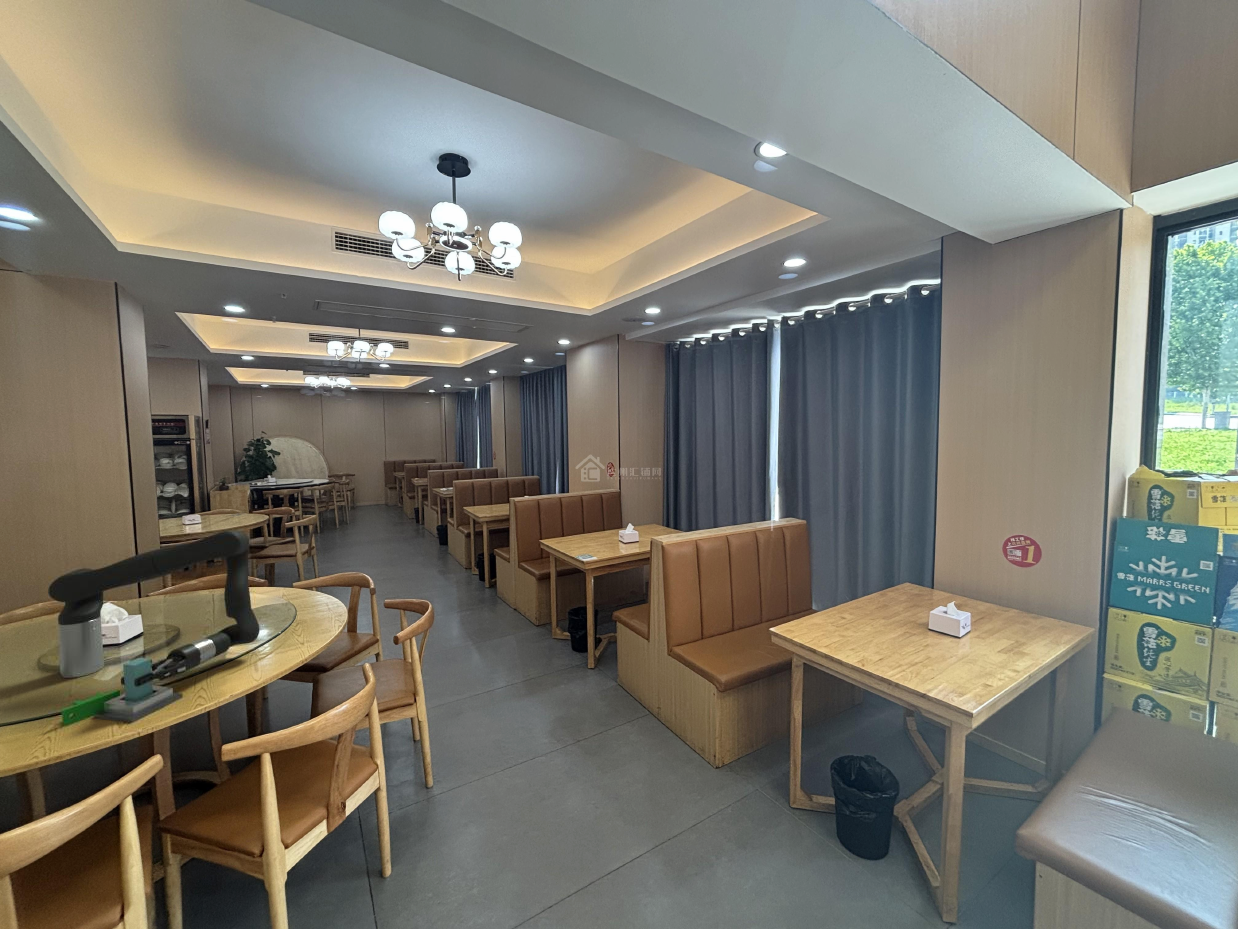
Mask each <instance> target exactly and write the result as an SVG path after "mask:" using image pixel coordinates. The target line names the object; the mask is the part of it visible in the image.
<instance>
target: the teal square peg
mask: <svg viewBox="0 0 1238 929" xmlns="http://www.w3.org/2000/svg"><path fill="white" fill-rule="evenodd" d="M151 660H152V658H145V657H138V658H135V659H133V660H130V661H128V662H126V663H123V677H124V685H123V686H124V694H125V701H132V702H137V701H139V700H141V699H143V698H145V697H147V696H149V695H151V694H153V688H152V685H153V681H152V680H151V681H150V682H148V683H145V684H143V685H141V686H139V687H136V686H135V685H134V680H135V679H137V678H139V677H141V676H143V675H146V674H148V673H151V672H152V668H151Z"/></svg>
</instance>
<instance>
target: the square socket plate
mask: <svg viewBox="0 0 1238 929" xmlns="http://www.w3.org/2000/svg"><path fill="white" fill-rule="evenodd" d="M152 688H153V694H151V695H149V696H147V697H145V698H143V699H141V700H139V701H137V702H132V701H125V693H122V694H120V696H118V697H116V698H113V699H111V700H109V701H107V702H104V709H103V710H101V711H99V712H97V713H94V714H93V716H92V718H94V719H101V720H109V721H116V722H123V723H130V724H133V723H135V722H137V721H139V720H140V719H142V718H145V717H146V716H148V715H150V714H153V713H154V712H156V711H159V710H160V709H163V708H164V707H166V706H168V705H170V704H172V703H174V702H176V701H178V700H180V699H182V698H183V696H184V695H183V693H178V692H177V693H176V692H174V691H173V690H174V689H173V687H168V686H167V687H166V686H161V685H159V686H158V685H154V684H152Z"/></svg>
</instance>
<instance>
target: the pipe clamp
mask: <svg viewBox="0 0 1238 929" xmlns="http://www.w3.org/2000/svg"><path fill="white" fill-rule="evenodd" d="M120 695H121V690H119V689H116V690H114V691H110V692H108V693H107V692H106V693H105V694H103V693H101V692H98V693H95V696H93V697H91V698H88V699H83V700H74V701H73V702H72V705H71V706H68V707H66V708H63V709H61V719H62V722H61V723H62V726H63V727H67V726H69V725H72V724H74V723H78V722H80V721H83V720H85V719H88V718H90V717H93V714H94V713H97V712H99V711H101V710H103V709H104V702H107V701H109V700H111V699H113V698H116V697H118V696H120ZM71 715H72V716H71Z"/></svg>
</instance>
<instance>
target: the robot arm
mask: <svg viewBox="0 0 1238 929" xmlns="http://www.w3.org/2000/svg"><path fill="white" fill-rule="evenodd" d="M249 554H250V538H249V536H248V535H247V533H246V532H244V531H241V530H235V529H234V530H233V529H230V530H222V531H220V532H217V533H214V534H212V535H209V536H206V537H203V538H201V539H197V540H195V541H190V542H187V543H182V544H175V545H171V546H166V547H162V548H158V549H157V548H156V549H154V550H150V551H146V552H143V553H139V554H136V555H133V556H130V557H128V558H125V559H122V560H120V561H118V562H115V563H111V564H109V565H107V566H104V567H100V568H96V569H92V568H87V567H84V568H79V569H76V570H72V571H70V572H67V573H65V574H62V575H61V576H58V577H56V579H55V580H53V581H52V583H51V584H50V585H49V587H48V591H47V592H48V595H49V597H50V598H51V599H52V600H54V601H56V602H60V603H64V606H63V608H62V610H61V611H60V612H59V614H58V617H57V621H58V622H57V625H58V633H59V634H58V637H59V645H58V661H59V673H60V675H61V677H62V678H63V679H64V678H66V679H72V678H78V677H83V676H87V675H90V674H93V673H96V672H98V671H100V670H101V669H103V668H104V666H105V665H104V648H103V630H102V616H101V615H102V613H101V612H102V608H103V606H104V592H105V591H109V590H112V589H115V588H120V587H125V586H129V585H134V584H135V585H136V584H138V583H142V582H143V583H144V582H147V581H151V580H154V579H158V578H161V577H162V578H163V577H166V576H169V575H171V574H174V573H177V572H180V571H181V570H184V569H185V568H189V567H191V566H193V565H197V564H199V563H203V562H207V561H211V560H217V559H224V560H225V564H226V578H225V586H224V591H223V592H224V594H223V597H224V607H225V614H226V616H227V617H228V618H230V619H233V620H235V622H236V623H235V624H231V625H229V626H226V627H225V628H222V629H221V630H219V631H217V632H216V633H214V634H211V635H209V636H208V635H207V636H206V637H204V638H203V637H202V638H201V639H198V640H194V641H192V642H189V643H187V644H184V645H181V646H179V647H177V648H175V649H172V650H171V651H170V652H168V655H167V656H166V657H164V658H161V659H158V660H157V661H153V660H152V659H151V670H152V672H151V673H148V674H146V675H143V676H141V677H139V678H137V679H135V680H134V685H135V686H136V687H139V686H141V685H143V684H145V683H148V682H150V681H151V680H152V682H155V681H157V680H159V681H164V680H167V679H169V678H173V677H175V676H178V675H182V674H185V673H186V672H187V671H189V670H192V669H194V668H196V667H198V666H199V665H202V664H205V663H206V662H208V661H210V660H212V659H214V658H216V657H218V656H220V655H222V654H224V653H226V652H227V651H228V650H229V649H230V648H231V647H233V646H239V645H244V644H245V645H247V644H251V643H254V642H255V641H256V639H258V637H259V635H260V631H261V630H260V624H259V621H258V619H257V617H256V614H255V612H254V611H253V608H252V602H251V593H250V586H249V585H250V584H249ZM120 685H121V686H124V676H121V678H120Z"/></svg>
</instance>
